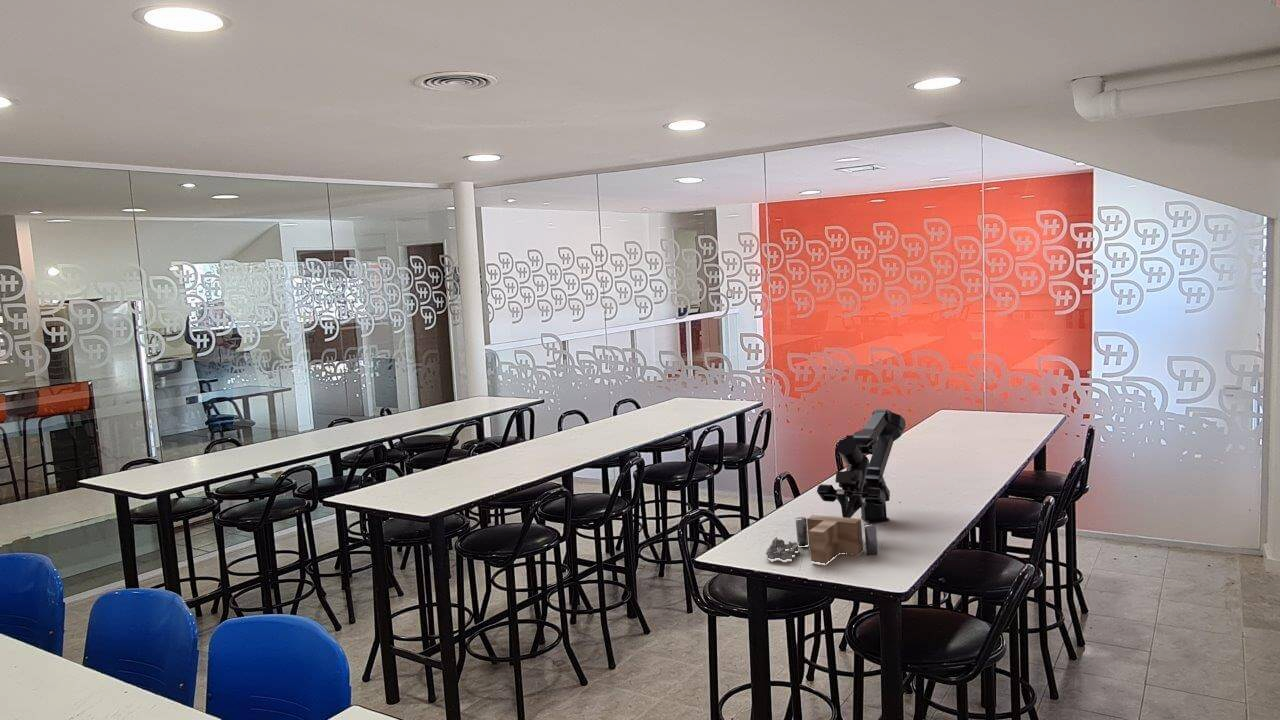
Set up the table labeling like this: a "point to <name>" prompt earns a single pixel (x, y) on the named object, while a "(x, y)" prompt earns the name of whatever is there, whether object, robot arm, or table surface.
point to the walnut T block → (833, 537)
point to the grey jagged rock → (781, 549)
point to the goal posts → (869, 535)
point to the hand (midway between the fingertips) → (844, 521)
